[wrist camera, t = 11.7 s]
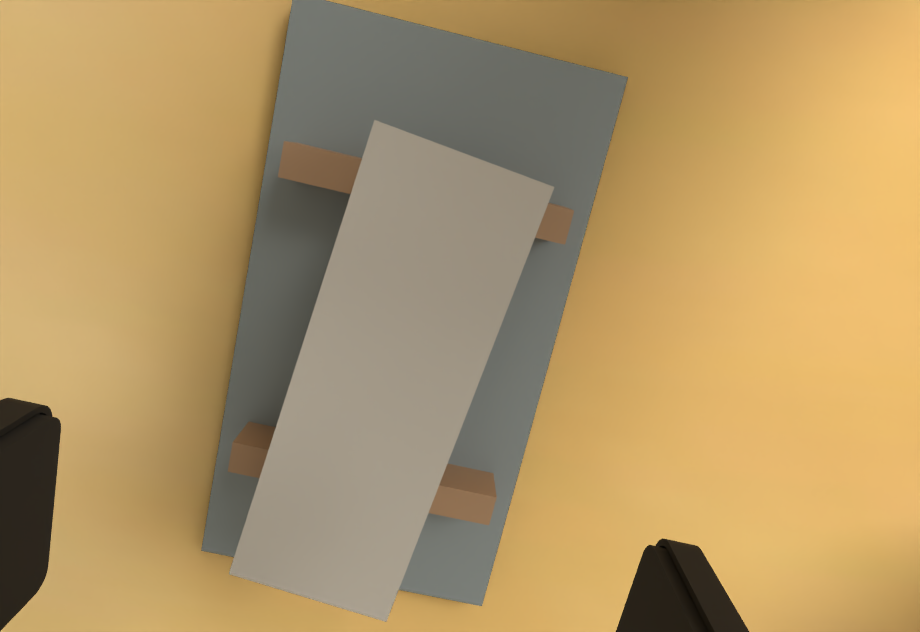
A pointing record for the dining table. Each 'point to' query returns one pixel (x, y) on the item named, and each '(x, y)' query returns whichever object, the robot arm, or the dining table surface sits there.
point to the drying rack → (319, 219)
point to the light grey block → (387, 369)
